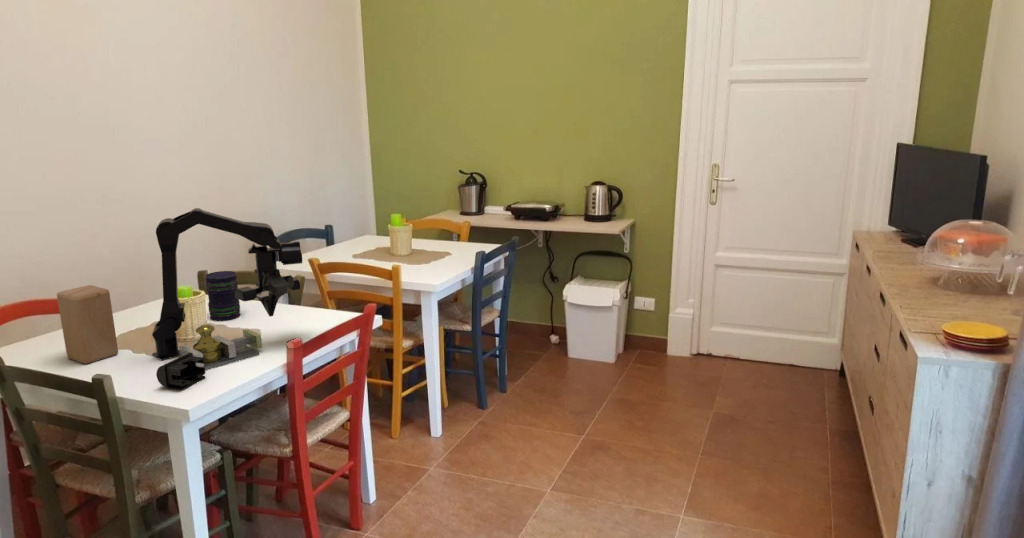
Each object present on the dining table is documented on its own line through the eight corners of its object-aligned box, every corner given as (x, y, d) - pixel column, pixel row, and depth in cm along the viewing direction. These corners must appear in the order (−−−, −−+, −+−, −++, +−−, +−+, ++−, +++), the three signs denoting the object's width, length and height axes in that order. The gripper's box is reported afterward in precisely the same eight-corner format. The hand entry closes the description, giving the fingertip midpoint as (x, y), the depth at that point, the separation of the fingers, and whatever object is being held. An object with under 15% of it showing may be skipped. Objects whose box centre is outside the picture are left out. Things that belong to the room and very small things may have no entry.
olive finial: (207, 365, 191) (203, 330, 188) (188, 360, 194) (184, 327, 191) (228, 356, 197) (224, 322, 195) (209, 352, 200) (205, 319, 198)
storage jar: (207, 322, 229) (202, 279, 225) (212, 313, 238) (207, 271, 235) (238, 320, 231) (234, 277, 228) (242, 311, 241) (238, 270, 237)
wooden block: (120, 354, 201) (110, 288, 196) (85, 365, 193) (74, 297, 188) (100, 348, 206) (90, 283, 201) (65, 358, 198) (54, 292, 193)
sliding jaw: (213, 349, 201) (211, 336, 200) (247, 340, 209) (245, 328, 208) (229, 358, 195) (228, 345, 194) (263, 348, 202) (262, 335, 201)
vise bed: (180, 362, 195) (178, 345, 194) (241, 345, 208) (239, 330, 207) (198, 372, 188) (196, 355, 187) (259, 354, 201) (258, 338, 200)
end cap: (185, 374, 187) (183, 351, 185) (207, 377, 185) (204, 353, 183) (157, 389, 178) (154, 364, 176) (180, 392, 176) (177, 367, 174)
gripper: (250, 277, 193) (255, 329, 197) (309, 265, 206) (312, 314, 210) (231, 270, 200) (236, 321, 204) (289, 259, 214) (293, 307, 218)
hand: (271, 316), depth 209 cm, fingers closed
